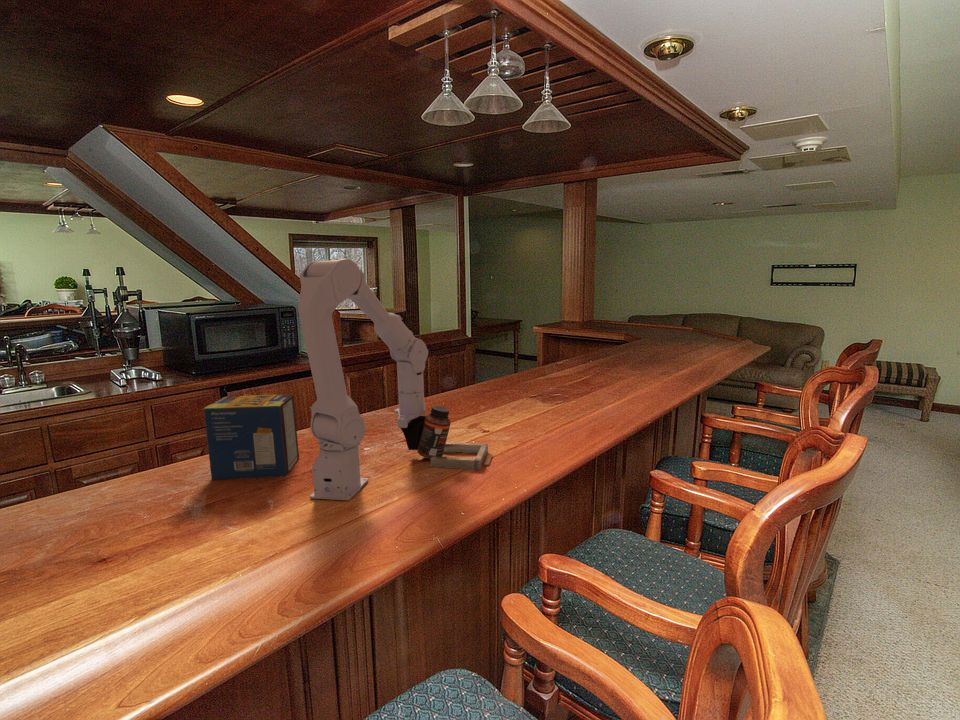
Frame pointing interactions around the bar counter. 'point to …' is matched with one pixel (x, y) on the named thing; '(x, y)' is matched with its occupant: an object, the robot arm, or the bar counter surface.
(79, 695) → the bar counter surface
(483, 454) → the bracket
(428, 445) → the supplement bottle
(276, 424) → the protein box
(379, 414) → the bar counter surface
